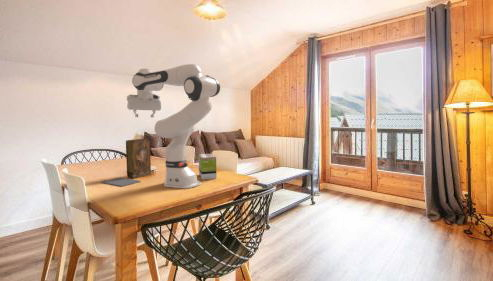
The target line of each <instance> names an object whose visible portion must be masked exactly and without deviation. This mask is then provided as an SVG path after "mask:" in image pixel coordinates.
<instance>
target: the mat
mask: <svg viewBox="0 0 493 281" xmlns="http://www.w3.org/2000/svg"><path fill="white" fill-rule="evenodd" d="M137 183H141V180H137V179H133V178H128V177H127V178H126V177H121V176H120V177H119V176H118V177H115V178H111V179H107V180H103V181H100V184H105V185H106V184H107V185H109V186H111V185H112V186H117V187H120V188H123V187H126V186H130V185H133V184H137Z"/></svg>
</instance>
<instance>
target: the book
mask: <svg viewBox="0 0 493 281" xmlns="http://www.w3.org/2000/svg"><path fill="white" fill-rule="evenodd" d="M125 155H126V156H125V158H126V160H125V161H126V177H127V179H138V178H142V177H145V176H149V175H152V165H151V164H152V163H151V139H150V138H137V139H135V138H134V139H128V140H125Z"/></svg>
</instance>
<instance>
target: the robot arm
mask: <svg viewBox="0 0 493 281" xmlns="http://www.w3.org/2000/svg"><path fill="white" fill-rule="evenodd" d="M131 82H132V85H133V87H134V88H135V89H136V90H137V91H136V93H137V94H129V95H127V96H126V101H127V102H126V103H127V104H126V108H127V110H130V111H131V110H133V114H134V115H135V116H134V117H135V118H139V113H137V111H151V112H152V113H151V114H150V118H154V117H155V116H154V115H155V114H156V111H161V110H162V102H161V100H160V97H161V96H160V95H158V94H155V93H154V92H159V91H162V90H163V88H164V85H170V86H173V87H174V86H175V87H183V90H184V92H185V94H186V95H187V98H188V99H189V100H190V102H189V103H188V104H187V105H186V106H184V107H183V108H182V109H181V110H179V111H178V112H176V113H174V114H172V115H169V116H168V117H166V118H162V119H160V120H157V121H156V122H155V125H154V133H155V135H156V136H158V138H164V139H169V138H170V139H172V140H171V142H170V143H169V144H168V145H167V146H166V148H165V157H166V158H165V167H166V168H165V169H166V170H165V176H164V178H165V179H164V183H163V186H164V187H165V188H175V189H191V188H195V187H198V186H200V185H202V182H201V181H200V180H198V176H197V173H196V172H195V171H193V169H191V168H190V167H189V164H190V163H189V161H187V159H186V147H187V142H188V140H189V138H190V136H191V135H192V134H193V133H194V130H195V125H196V124H198V123H200V122H201V121H202V120H203V119H204V118H205V117H206V116H208V114H209V113H210V112H211V110H212V108H213V106H212V102H211V100H210V98H213V97H216V96H217V95H219V93H220V91H221V84H220V81H218V80H217V79H216V78H214V77H212V76H209V75H203V72H202V69H201V68H200V66H198V65H197V64H194V63H187V64H181V65H177V66H174V67H172V68H168V69H164V70H159V71H154V72H153V71H152V70H151V69H149V68H141V69H139V70H138V72H136V73H134V75H133V76H132V79H131ZM153 91H154V92H153Z"/></svg>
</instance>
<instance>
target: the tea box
mask: <svg viewBox="0 0 493 281" xmlns="http://www.w3.org/2000/svg"><path fill="white" fill-rule="evenodd" d="M198 175H199V177H200V178H201V180H203V181H204V179H205V180H214V179H215V180H216V179H217V156H216V155H214V154H213V153H200V154H198Z"/></svg>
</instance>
